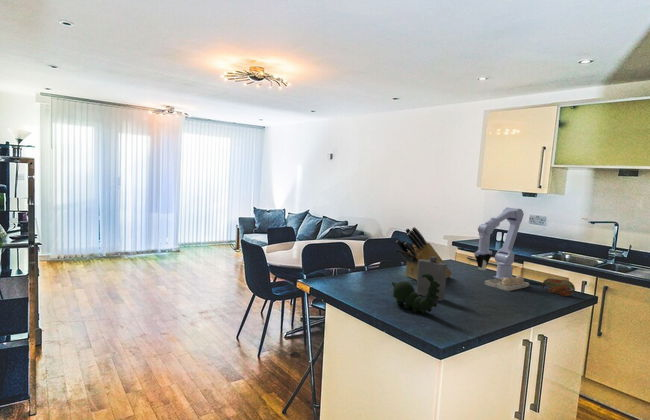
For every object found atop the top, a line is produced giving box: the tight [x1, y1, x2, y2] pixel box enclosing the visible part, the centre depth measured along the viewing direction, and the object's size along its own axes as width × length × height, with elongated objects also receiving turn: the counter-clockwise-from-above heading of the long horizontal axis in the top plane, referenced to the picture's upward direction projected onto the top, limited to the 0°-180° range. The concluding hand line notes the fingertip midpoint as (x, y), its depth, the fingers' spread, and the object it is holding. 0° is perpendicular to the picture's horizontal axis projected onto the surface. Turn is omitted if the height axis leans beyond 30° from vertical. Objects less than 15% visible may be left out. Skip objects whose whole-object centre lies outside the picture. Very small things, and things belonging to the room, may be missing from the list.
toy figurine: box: [391, 273, 440, 314], centre depth 172 cm, size 9×19×25 cm
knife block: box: [395, 226, 453, 281], centre depth 229 cm, size 11×35×31 cm, turn 115°
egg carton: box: [483, 277, 530, 292], centre depth 221 cm, size 21×14×3 cm
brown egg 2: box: [515, 275, 525, 284], centre depth 222 cm, size 4×4×6 cm
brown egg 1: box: [502, 278, 511, 287], centre depth 214 cm, size 4×4×6 cm
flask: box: [415, 256, 448, 302], centre depth 192 cm, size 15×6×20 cm, turn 45°
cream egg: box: [477, 260, 488, 271], centre depth 231 cm, size 4×4×6 cm
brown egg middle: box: [509, 276, 517, 285], centre depth 218 cm, size 4×4×6 cm
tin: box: [542, 277, 576, 297], centre depth 209 cm, size 15×3×8 cm, turn 62°
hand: (482, 266), depth 231 cm, fingers closed on cream egg, 4 cm apart
